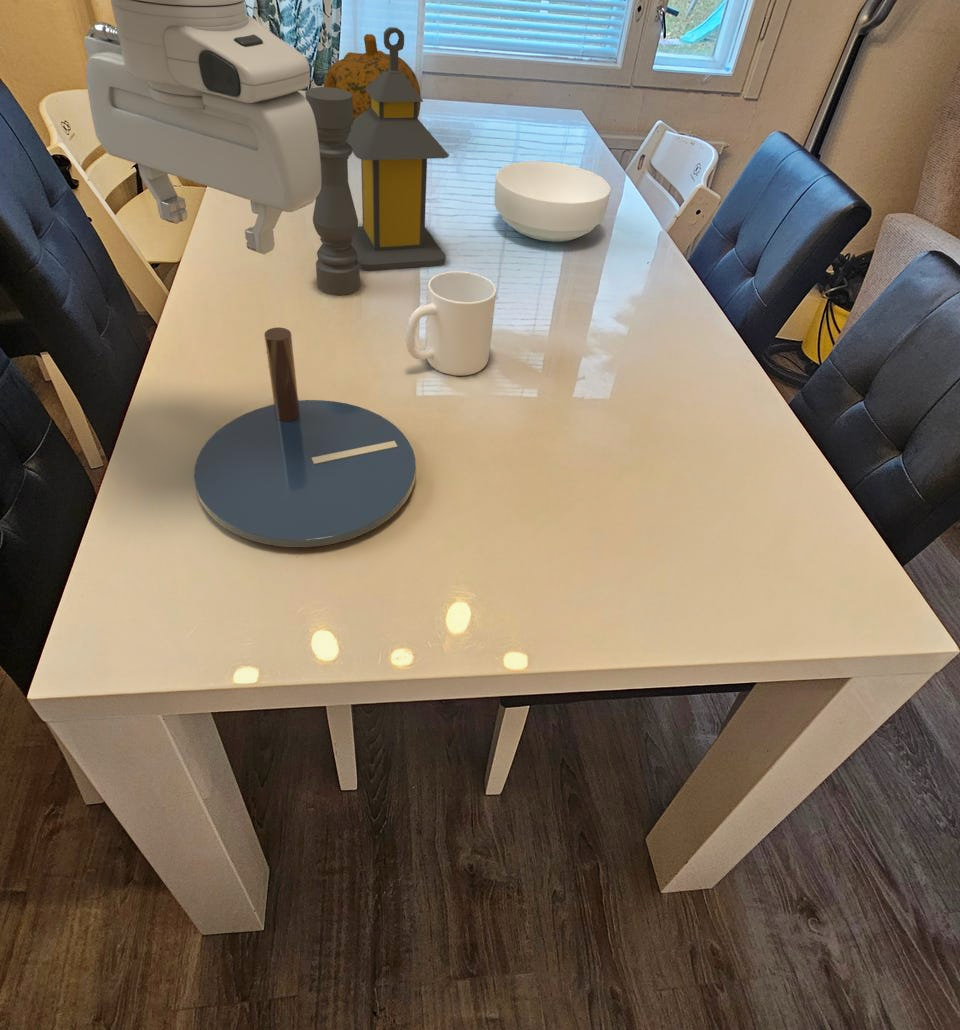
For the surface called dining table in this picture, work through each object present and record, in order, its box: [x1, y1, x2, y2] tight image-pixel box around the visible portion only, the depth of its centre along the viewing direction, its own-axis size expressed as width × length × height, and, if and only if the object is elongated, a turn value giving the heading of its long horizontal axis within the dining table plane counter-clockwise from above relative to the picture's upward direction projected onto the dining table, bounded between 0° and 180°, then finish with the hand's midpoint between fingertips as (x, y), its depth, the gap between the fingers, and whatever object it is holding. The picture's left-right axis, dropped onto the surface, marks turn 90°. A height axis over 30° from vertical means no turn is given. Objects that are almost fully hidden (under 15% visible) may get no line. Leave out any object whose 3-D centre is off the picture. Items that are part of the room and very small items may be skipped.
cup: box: [405, 270, 497, 377], centre depth 88 cm, size 8×12×10 cm
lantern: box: [347, 26, 450, 272], centre depth 104 cm, size 14×14×30 cm
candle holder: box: [304, 86, 361, 296], centre depth 95 cm, size 6×6×25 cm
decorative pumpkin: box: [323, 33, 422, 120], centre depth 145 cm, size 20×21×20 cm
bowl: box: [493, 160, 612, 243], centre depth 122 cm, size 20×20×8 cm
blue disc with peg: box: [193, 326, 417, 548], centre depth 69 cm, size 22×22×11 cm
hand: (217, 234), depth 60 cm, fingers open, 8 cm apart
